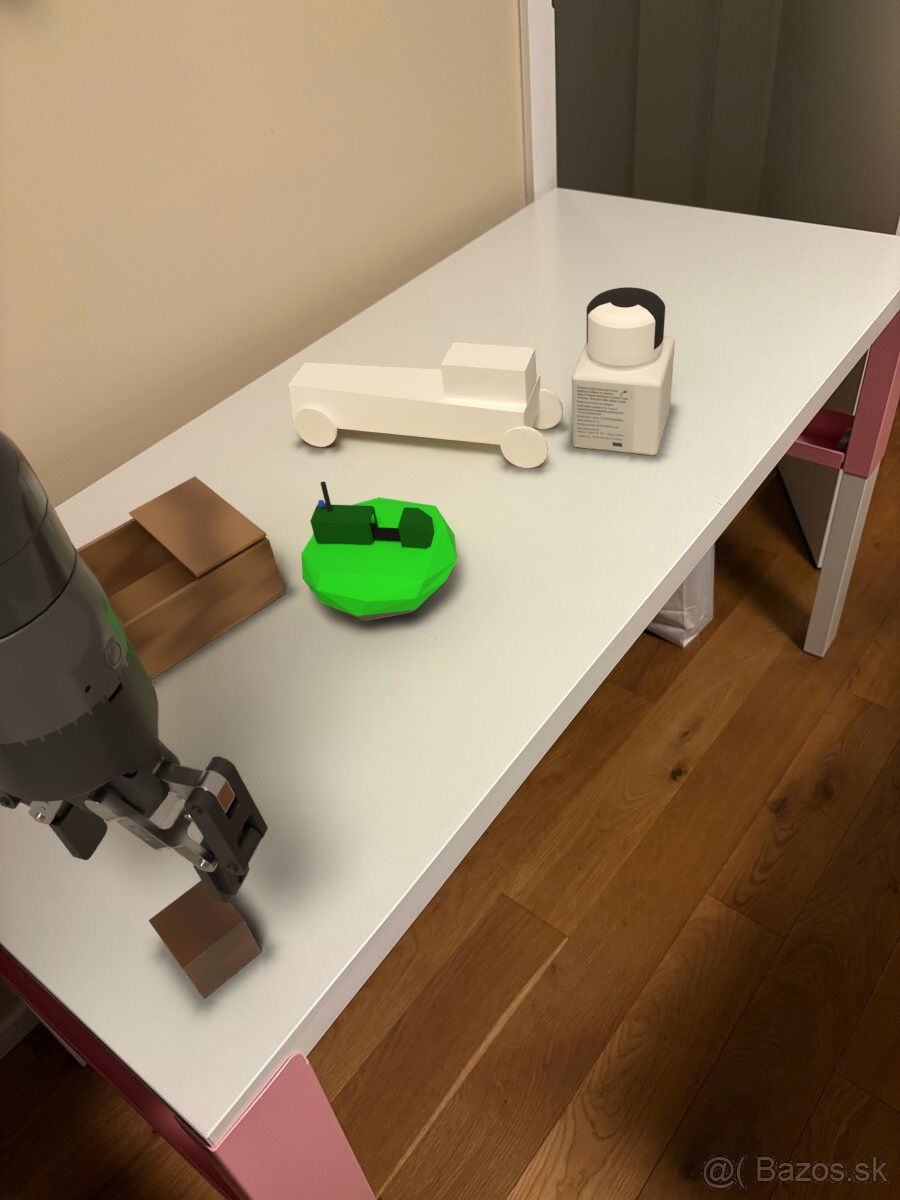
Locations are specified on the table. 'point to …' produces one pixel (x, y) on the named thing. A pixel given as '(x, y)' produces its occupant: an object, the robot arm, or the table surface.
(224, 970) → the block
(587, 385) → the container
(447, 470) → the table surface
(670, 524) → the table surface
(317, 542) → the green domed toy
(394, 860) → the table surface
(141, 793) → the robot arm
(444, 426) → the toy truck
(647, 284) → the table surface
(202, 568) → the carton
